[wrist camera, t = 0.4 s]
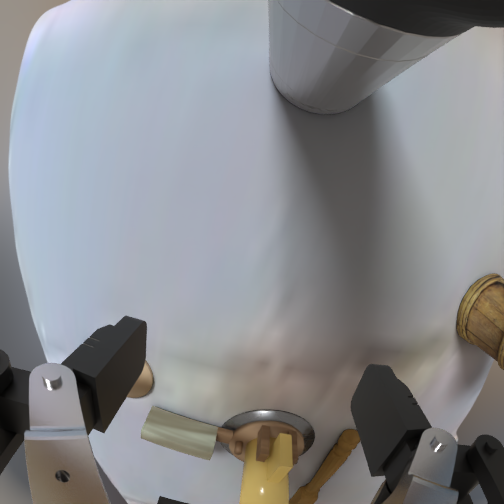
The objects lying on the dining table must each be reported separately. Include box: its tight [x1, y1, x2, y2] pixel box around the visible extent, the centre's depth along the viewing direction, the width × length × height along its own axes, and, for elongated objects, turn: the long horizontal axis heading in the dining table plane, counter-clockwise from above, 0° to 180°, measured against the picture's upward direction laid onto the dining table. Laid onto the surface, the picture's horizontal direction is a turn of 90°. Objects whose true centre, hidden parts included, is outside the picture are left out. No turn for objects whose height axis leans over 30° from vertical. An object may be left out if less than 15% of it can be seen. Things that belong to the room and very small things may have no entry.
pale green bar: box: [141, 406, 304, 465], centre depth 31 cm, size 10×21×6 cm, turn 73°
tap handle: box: [289, 429, 360, 504], centre depth 36 cm, size 3×3×30 cm
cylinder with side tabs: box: [239, 433, 293, 504], centre depth 27 cm, size 11×6×10 cm, turn 163°
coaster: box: [127, 360, 153, 398], centre depth 32 cm, size 9×9×1 cm
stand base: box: [221, 410, 315, 456], centre depth 34 cm, size 13×13×1 cm
